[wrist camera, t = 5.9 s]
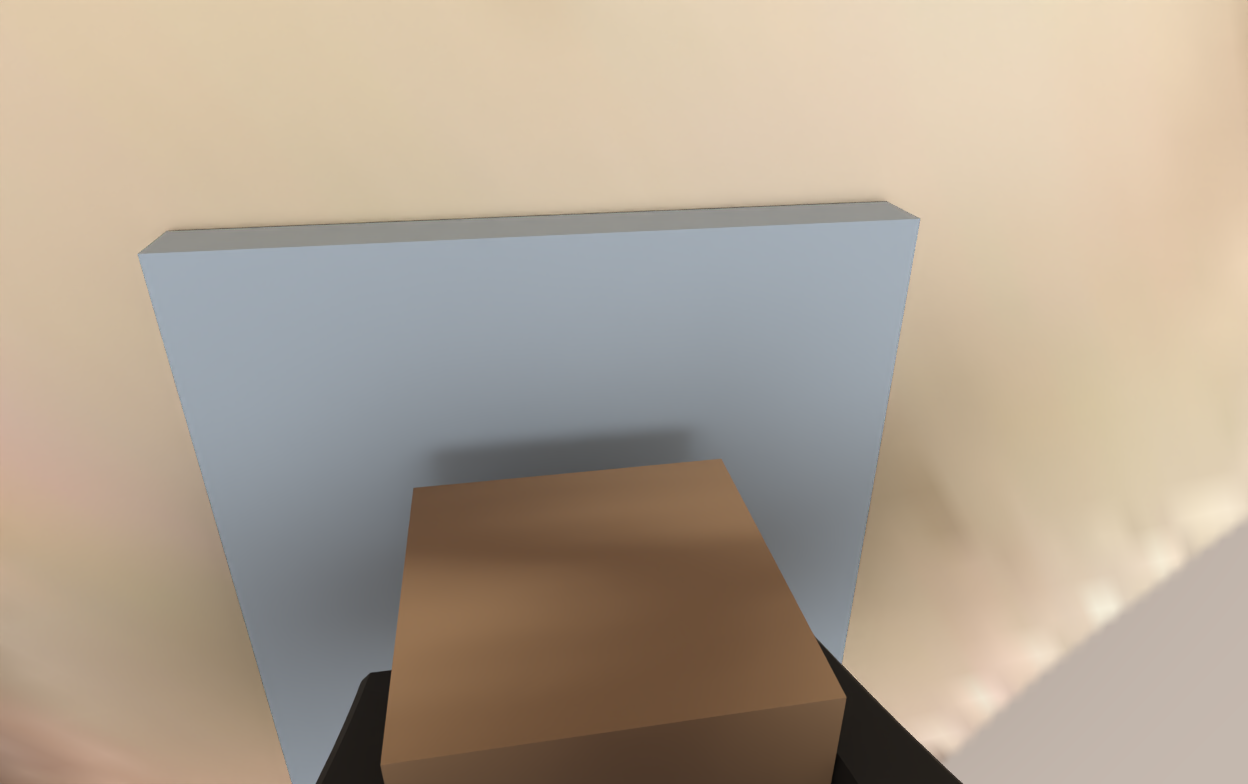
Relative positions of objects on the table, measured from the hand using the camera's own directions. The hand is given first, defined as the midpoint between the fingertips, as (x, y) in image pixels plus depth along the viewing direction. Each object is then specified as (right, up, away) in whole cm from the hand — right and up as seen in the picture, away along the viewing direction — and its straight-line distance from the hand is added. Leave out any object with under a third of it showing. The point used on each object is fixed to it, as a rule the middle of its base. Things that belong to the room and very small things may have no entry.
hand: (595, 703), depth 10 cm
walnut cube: (0, +1, +1) cm, 2 cm away
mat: (-1, +2, +4) cm, 4 cm away
